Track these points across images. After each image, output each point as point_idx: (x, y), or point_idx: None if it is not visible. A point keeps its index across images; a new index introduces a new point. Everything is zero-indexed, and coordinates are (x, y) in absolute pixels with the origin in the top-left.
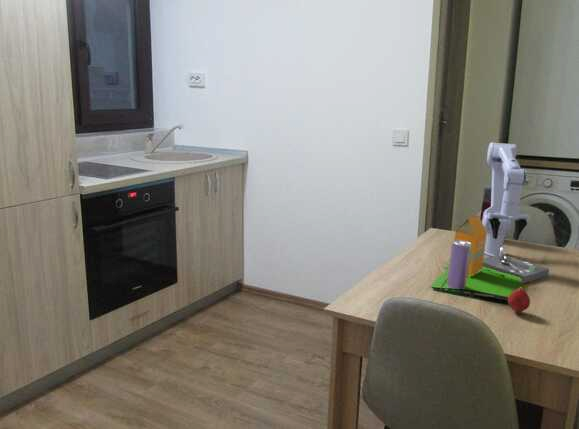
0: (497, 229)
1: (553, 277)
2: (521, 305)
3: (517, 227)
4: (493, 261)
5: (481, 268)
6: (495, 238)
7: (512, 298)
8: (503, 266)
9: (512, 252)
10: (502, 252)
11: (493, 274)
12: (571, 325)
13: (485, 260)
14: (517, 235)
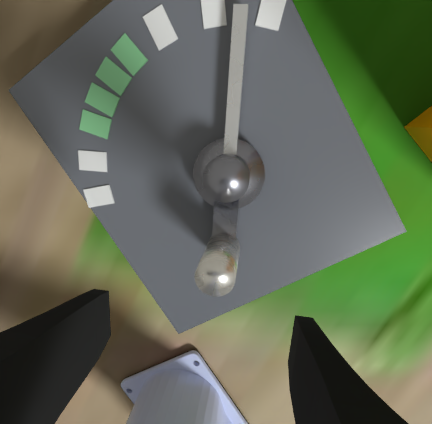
0: (342, 392)
1: (18, 72)
2: None
3: (13, 410)
4: (296, 208)
5: (418, 124)
6: (311, 318)
7: None
8: (280, 113)
9: (81, 402)
10: (227, 250)
11: (347, 87)
12: None
13: (341, 223)
14: (75, 308)
